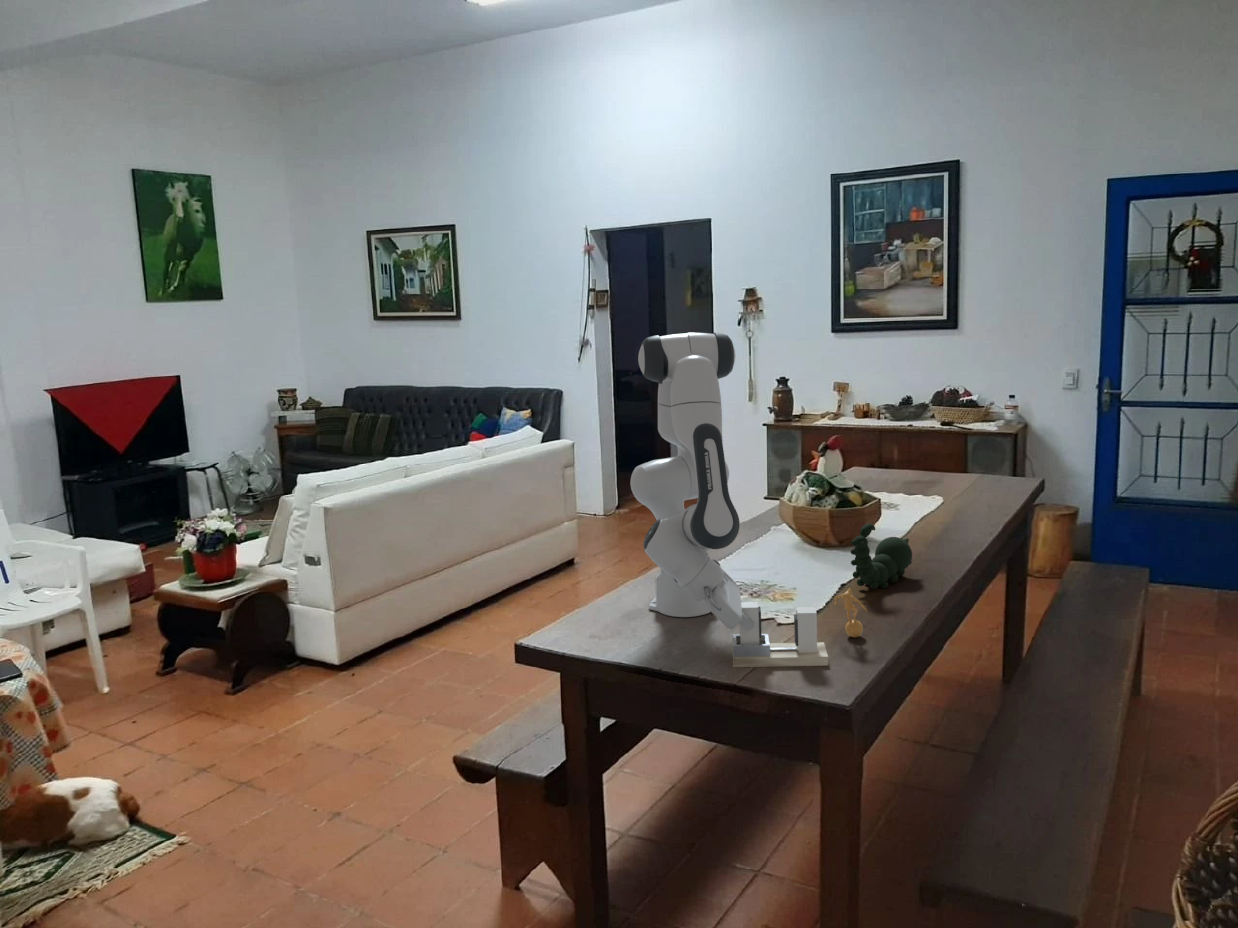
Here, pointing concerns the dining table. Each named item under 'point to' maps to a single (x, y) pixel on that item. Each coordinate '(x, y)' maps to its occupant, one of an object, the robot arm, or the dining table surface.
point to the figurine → (853, 626)
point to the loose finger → (754, 614)
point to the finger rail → (784, 646)
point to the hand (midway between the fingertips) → (752, 622)
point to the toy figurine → (880, 559)
